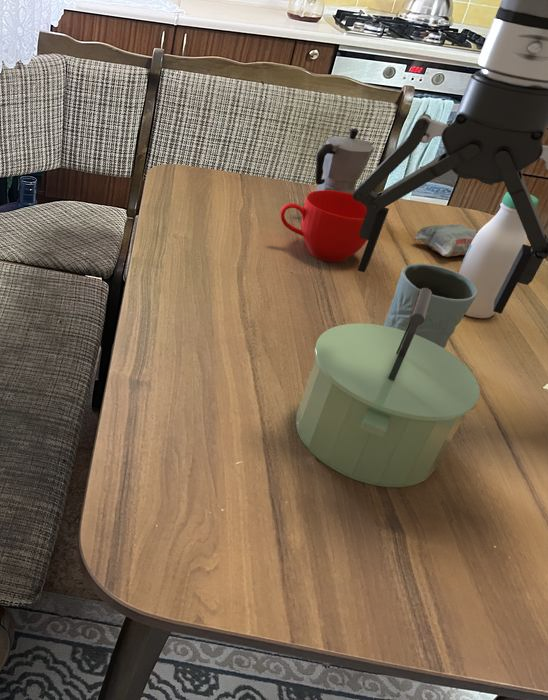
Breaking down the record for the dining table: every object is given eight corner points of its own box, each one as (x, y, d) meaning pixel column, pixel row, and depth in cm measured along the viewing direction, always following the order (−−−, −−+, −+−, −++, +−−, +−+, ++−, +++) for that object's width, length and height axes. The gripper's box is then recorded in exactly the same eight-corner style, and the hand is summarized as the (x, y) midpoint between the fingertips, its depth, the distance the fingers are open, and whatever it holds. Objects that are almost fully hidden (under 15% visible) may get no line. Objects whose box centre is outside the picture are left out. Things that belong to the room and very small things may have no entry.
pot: (444, 415, 90) (478, 350, 84) (424, 525, 73) (464, 453, 67) (318, 370, 96) (340, 306, 90) (273, 462, 79) (297, 391, 73)
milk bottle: (503, 320, 113) (562, 207, 101) (459, 318, 112) (514, 204, 100) (477, 296, 119) (530, 187, 108) (436, 295, 118) (485, 184, 107)
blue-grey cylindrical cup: (400, 325, 108) (428, 258, 101) (458, 359, 101) (493, 289, 95) (360, 341, 103) (387, 271, 96) (418, 377, 96) (451, 305, 90)
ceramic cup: (267, 232, 134) (279, 183, 128) (353, 243, 133) (370, 194, 127) (275, 262, 123) (290, 210, 117) (370, 274, 122) (389, 222, 117)
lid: (480, 364, 82) (516, 293, 77) (469, 448, 69) (513, 370, 63) (331, 315, 89) (355, 247, 83) (295, 384, 76) (320, 308, 70)
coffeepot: (332, 201, 151) (357, 119, 140) (366, 218, 144) (396, 133, 134) (282, 211, 143) (306, 125, 133) (316, 229, 137) (344, 140, 127)
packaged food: (488, 260, 132) (499, 237, 129) (439, 264, 128) (449, 240, 126) (456, 241, 139) (465, 218, 136) (408, 244, 135) (417, 221, 132)
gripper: (368, 56, 62) (303, 263, 74) (694, 117, 53) (560, 342, 65) (381, 45, 68) (319, 240, 80) (679, 99, 59) (558, 310, 71)
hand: (428, 286), depth 72 cm, fingers open, 13 cm apart
